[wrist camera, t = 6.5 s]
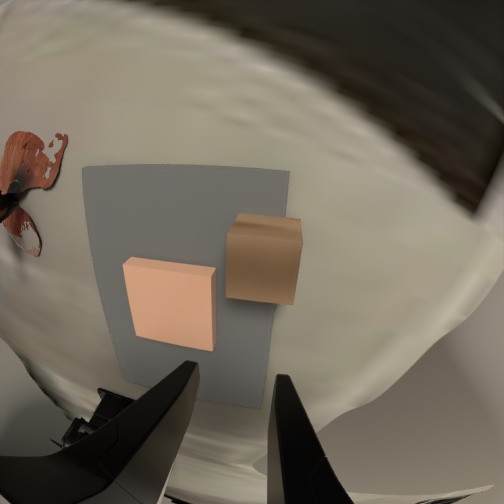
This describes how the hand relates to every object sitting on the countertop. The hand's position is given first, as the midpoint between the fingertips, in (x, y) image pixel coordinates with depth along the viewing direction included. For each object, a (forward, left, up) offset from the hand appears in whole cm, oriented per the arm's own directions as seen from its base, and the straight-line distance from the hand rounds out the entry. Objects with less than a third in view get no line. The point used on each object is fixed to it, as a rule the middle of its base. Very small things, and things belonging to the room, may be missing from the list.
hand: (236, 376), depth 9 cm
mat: (-7, +7, -12) cm, 16 cm away
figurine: (+3, +24, -13) cm, 27 cm away
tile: (-9, +7, -11) cm, 16 cm away
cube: (0, 0, -12) cm, 12 cm away
